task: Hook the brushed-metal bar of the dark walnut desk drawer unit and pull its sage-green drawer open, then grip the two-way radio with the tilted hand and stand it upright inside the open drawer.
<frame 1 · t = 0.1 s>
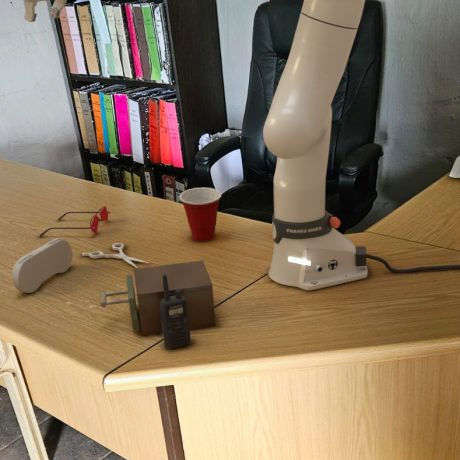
hand: (41, 18, 136), 54 cm above the table, tool tilted 30°, fingers open, 8 cm apart
scissors: (122, 259, 161), on the table
glasses: (76, 229, 182), on the table
two-way radio: (177, 344, 123), on the table
plastic cup: (203, 238, 170), on the table
drawer: (149, 300, 129), point 5 cm above the table, slide at 0.5 cm
game controller: (47, 281, 152), on the table
cabinet: (176, 316, 132), on the table
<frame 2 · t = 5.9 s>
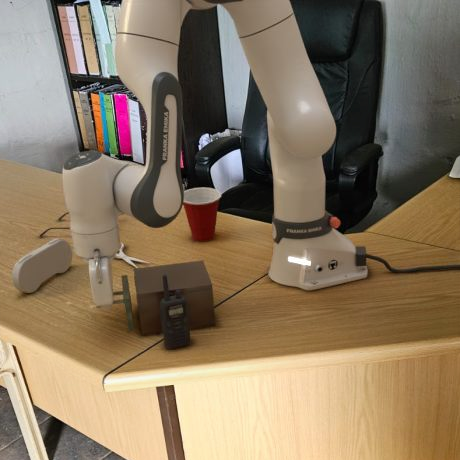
hand: (107, 306, 128), 4 cm above the table, tool pointing down, fingers closed
drawer: (144, 300, 129), point 5 cm above the table, slide at 1.4 cm
everything else where it was.
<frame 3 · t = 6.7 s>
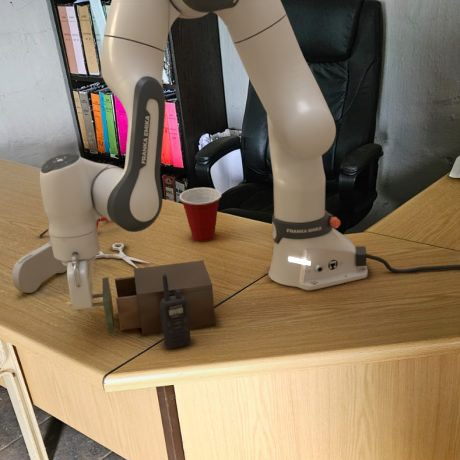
hand: (87, 309, 128), 4 cm above the table, tool pointing down, fingers closed, pressing on drawer
drawer: (125, 303, 129), point 5 cm above the table, slide at 5.4 cm, touching gripper
everything else where it was.
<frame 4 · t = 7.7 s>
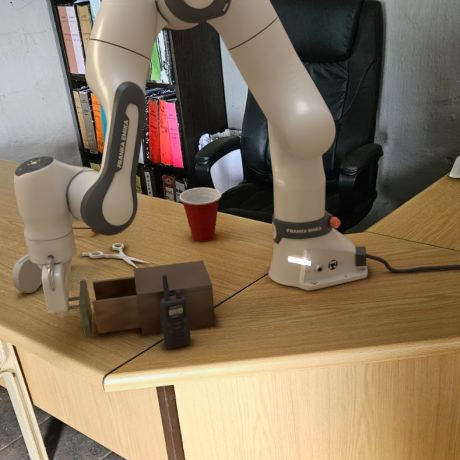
hand: (65, 312, 127), 4 cm above the table, tool pointing down, fingers closed, pressing on drawer
drawer: (102, 306, 128), point 5 cm above the table, slide at 9.8 cm, touching gripper
everything else where it was.
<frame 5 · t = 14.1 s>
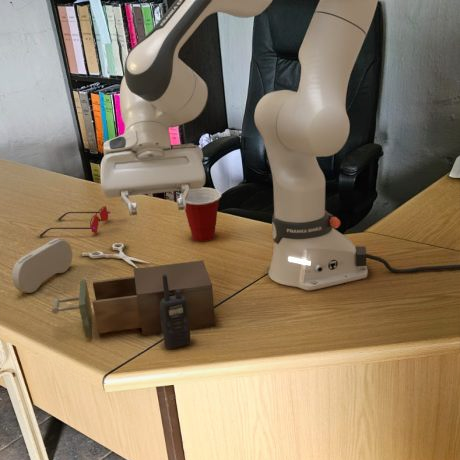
hand: (157, 211, 122), 22 cm above the table, tool tilted 45°, fingers open, 8 cm apart
drawer: (102, 306, 128), point 5 cm above the table, slide at 9.9 cm
everything else where it was.
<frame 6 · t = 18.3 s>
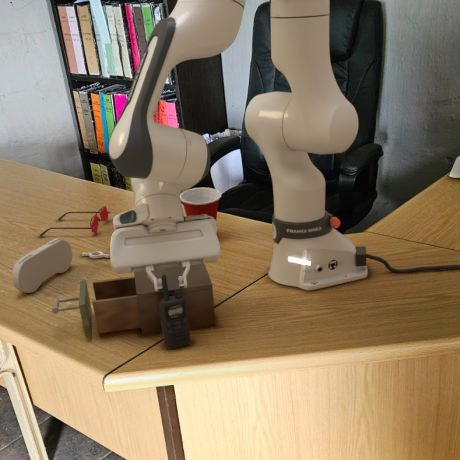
hand: (171, 288, 116), 12 cm above the table, tool tilted 45°, fingers closed on two-way radio, 3 cm apart
two-way radio: (177, 343, 123), on the table, touching gripper
everything else where it was.
when the fingers open (14 cm above the table, at t = 27.1 s): two-way radio stays where it is, resting on drawer.
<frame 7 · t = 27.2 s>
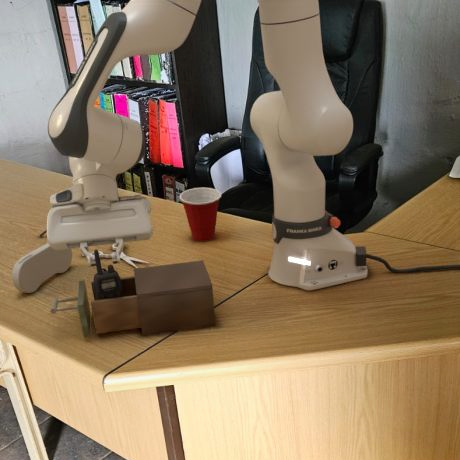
hand: (104, 264, 123), 14 cm above the table, tool tilted 45°, fingers open, 3 cm apart
two-way radio: (112, 317, 130), point 2 cm above the table, touching drawer
drawer: (101, 306, 128), point 5 cm above the table, slide at 10.2 cm, touching two-way radio
everything else where it was.
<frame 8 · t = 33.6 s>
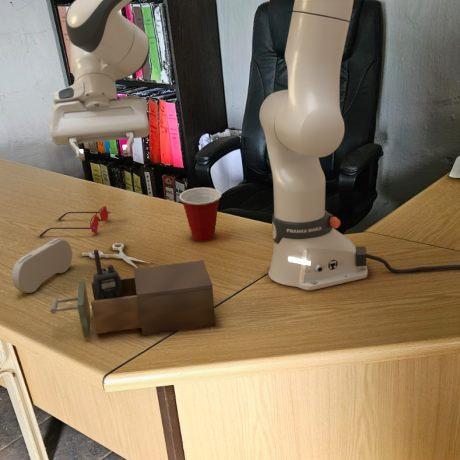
hand: (104, 157, 131), 29 cm above the table, tool tilted 45°, fingers open, 8 cm apart
nothing on the table moved.
at the end: drawer slide at 10.2 cm; two-way radio inside the target area in the drawer (0.3 cm from its centre), point 1.8 cm above the cabinet's base; two-way radio tilted 0° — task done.
